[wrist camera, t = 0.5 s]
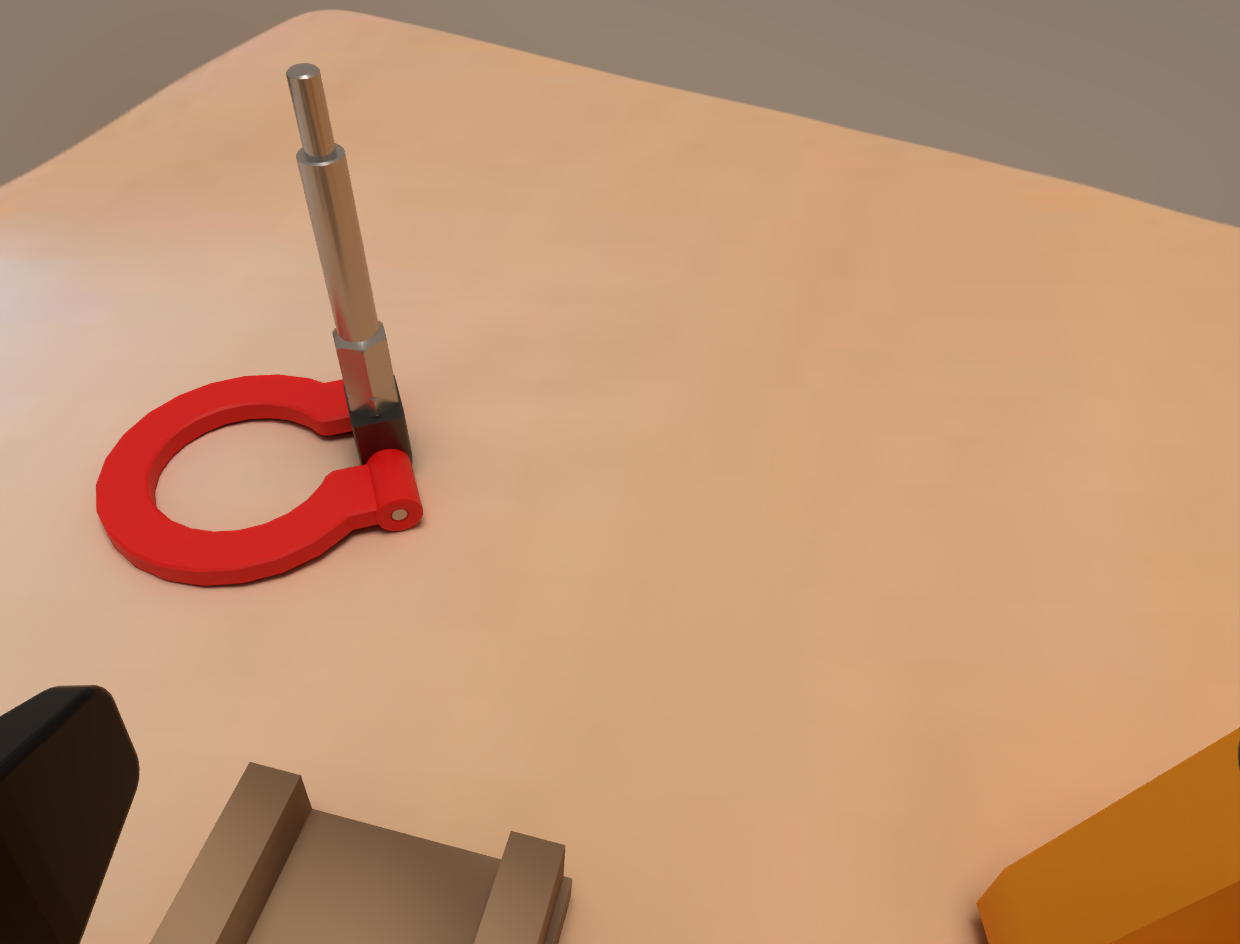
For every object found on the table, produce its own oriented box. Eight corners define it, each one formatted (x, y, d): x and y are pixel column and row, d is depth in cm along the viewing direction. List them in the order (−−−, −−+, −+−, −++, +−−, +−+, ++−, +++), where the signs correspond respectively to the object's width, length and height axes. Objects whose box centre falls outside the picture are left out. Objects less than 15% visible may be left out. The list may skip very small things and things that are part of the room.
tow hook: (104, 626, 28) (434, 550, 30) (-142, 221, 19) (363, 151, 21) (111, 426, 33) (390, 374, 35) (-75, 37, 24) (317, -3, 26)
